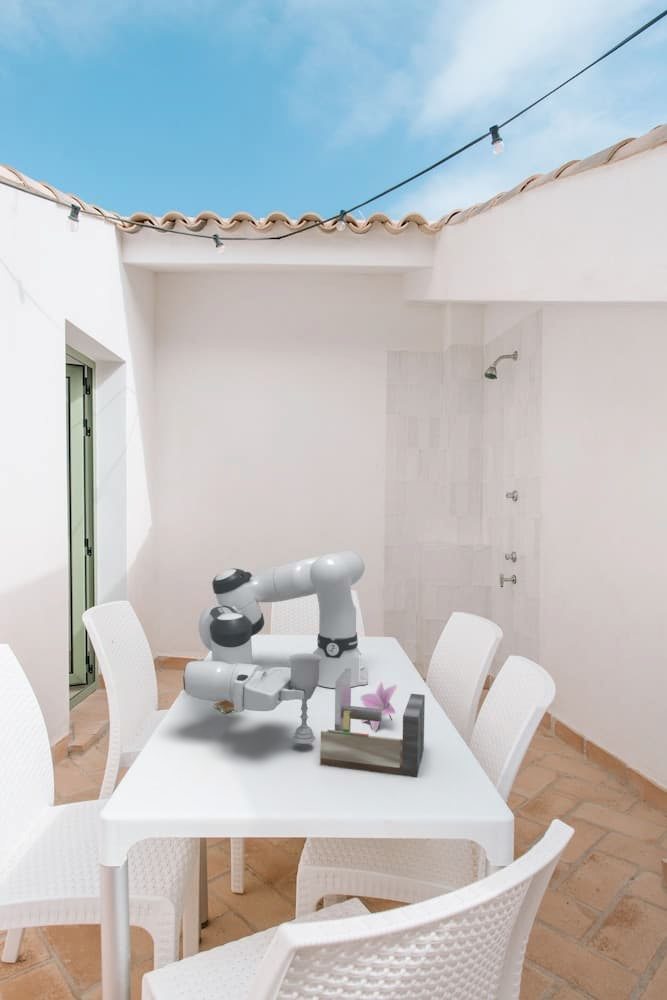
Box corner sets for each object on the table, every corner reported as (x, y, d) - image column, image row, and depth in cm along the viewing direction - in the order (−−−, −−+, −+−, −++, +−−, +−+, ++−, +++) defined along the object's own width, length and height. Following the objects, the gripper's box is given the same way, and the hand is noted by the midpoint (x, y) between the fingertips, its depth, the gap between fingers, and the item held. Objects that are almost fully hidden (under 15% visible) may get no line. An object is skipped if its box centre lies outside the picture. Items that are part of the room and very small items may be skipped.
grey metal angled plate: (345, 734, 136) (346, 668, 136) (384, 738, 134) (385, 671, 133) (332, 754, 125) (334, 683, 125) (375, 760, 123) (376, 687, 123)
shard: (249, 700, 164) (249, 693, 164) (263, 708, 158) (263, 701, 158) (213, 708, 158) (213, 701, 158) (226, 717, 152) (226, 710, 152)
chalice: (320, 732, 136) (321, 653, 136) (320, 745, 130) (321, 662, 129) (288, 732, 136) (289, 653, 136) (286, 744, 129) (287, 661, 129)
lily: (360, 716, 155) (348, 688, 152) (402, 699, 155) (391, 670, 152) (370, 749, 144) (357, 719, 141) (415, 730, 144) (403, 700, 141)
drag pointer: (344, 753, 126) (345, 710, 126) (350, 754, 125) (350, 711, 125) (342, 756, 124) (343, 712, 124) (348, 756, 124) (349, 713, 124)
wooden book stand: (336, 738, 138) (337, 686, 138) (423, 748, 133) (424, 694, 133) (320, 765, 124) (321, 707, 124) (416, 777, 120) (417, 717, 119)
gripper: (265, 684, 146) (320, 689, 143) (231, 713, 126) (294, 721, 123) (266, 658, 146) (321, 663, 143) (232, 683, 126) (294, 690, 123)
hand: (308, 690), depth 133 cm, fingers closed on chalice, 5 cm apart
